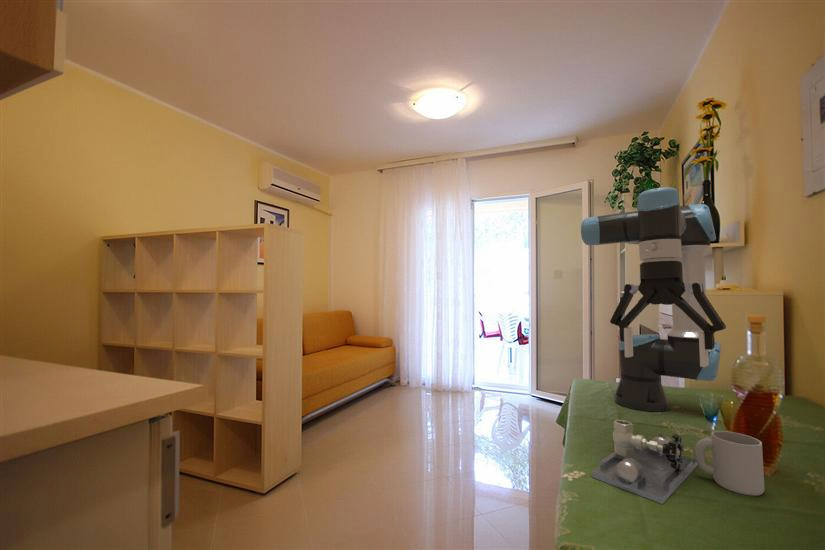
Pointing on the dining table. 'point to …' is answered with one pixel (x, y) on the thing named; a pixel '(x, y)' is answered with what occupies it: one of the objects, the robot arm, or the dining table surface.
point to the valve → (644, 443)
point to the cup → (733, 461)
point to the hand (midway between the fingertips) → (664, 361)
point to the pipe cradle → (645, 472)
